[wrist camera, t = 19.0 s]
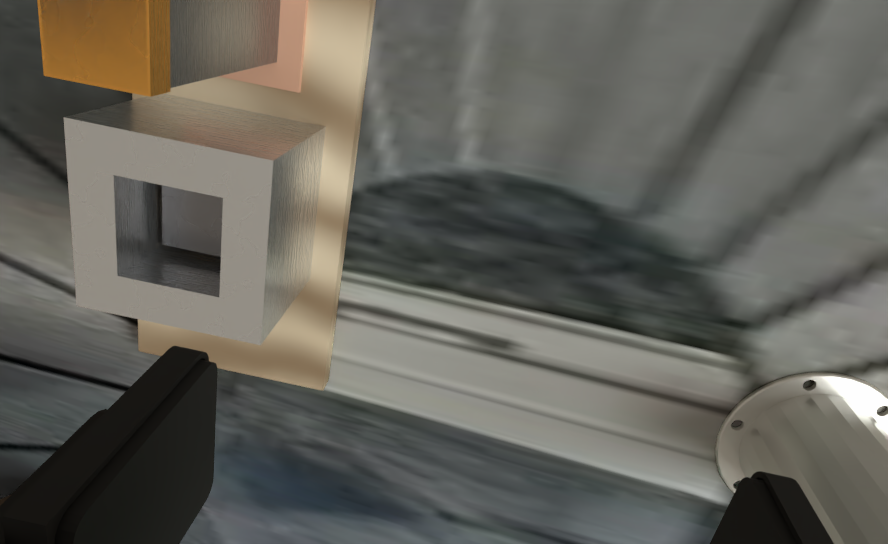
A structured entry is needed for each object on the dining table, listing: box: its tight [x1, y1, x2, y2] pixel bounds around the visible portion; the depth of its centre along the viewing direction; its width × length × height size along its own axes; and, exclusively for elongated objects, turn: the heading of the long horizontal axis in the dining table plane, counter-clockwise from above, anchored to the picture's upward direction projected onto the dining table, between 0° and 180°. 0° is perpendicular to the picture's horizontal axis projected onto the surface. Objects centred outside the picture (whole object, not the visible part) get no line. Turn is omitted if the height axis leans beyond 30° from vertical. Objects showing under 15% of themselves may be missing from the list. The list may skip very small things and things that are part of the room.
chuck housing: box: [64, 94, 326, 345], centre depth 36 cm, size 10×10×9 cm
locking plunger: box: [162, 185, 223, 257], centre depth 36 cm, size 4×4×1 cm
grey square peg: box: [37, 0, 281, 97], centre depth 29 cm, size 4×4×14 cm
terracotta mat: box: [219, 0, 308, 93], centre depth 36 cm, size 7×7×1 cm
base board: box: [132, 0, 376, 391], centre depth 41 cm, size 28×14×2 cm, turn 170°
